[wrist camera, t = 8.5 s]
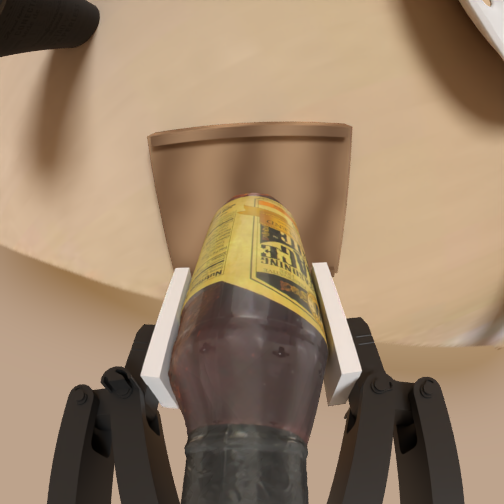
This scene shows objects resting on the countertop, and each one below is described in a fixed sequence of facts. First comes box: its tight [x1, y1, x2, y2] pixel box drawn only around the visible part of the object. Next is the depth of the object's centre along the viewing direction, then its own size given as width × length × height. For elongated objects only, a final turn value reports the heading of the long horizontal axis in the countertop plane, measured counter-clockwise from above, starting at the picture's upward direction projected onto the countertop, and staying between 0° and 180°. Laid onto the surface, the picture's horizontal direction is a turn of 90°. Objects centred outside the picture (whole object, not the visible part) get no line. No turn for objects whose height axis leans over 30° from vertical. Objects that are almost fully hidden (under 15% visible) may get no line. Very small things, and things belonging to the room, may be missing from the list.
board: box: [147, 122, 352, 277], centre depth 23 cm, size 16×14×3 cm
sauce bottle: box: [168, 193, 328, 504], centre depth 12 cm, size 7×6×20 cm
